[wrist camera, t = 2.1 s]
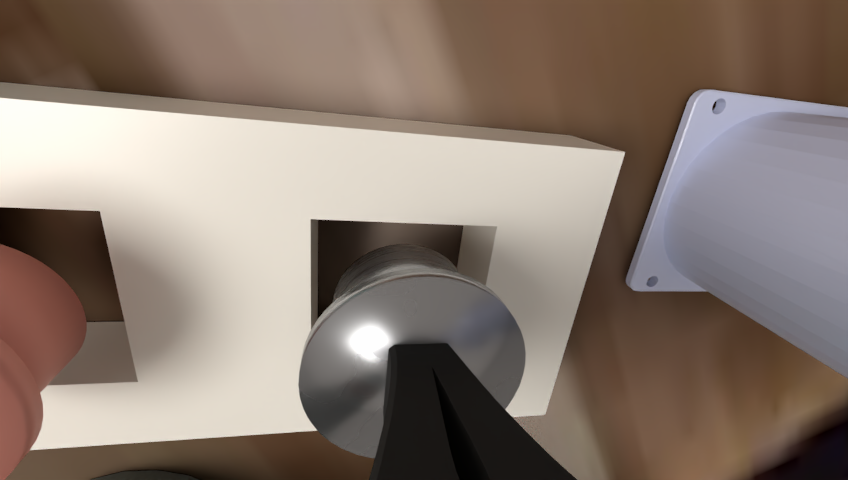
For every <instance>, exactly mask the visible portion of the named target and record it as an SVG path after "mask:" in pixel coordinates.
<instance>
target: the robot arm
mask: <svg viewBox="0 0 848 480" xmlns="http://www.w3.org/2000/svg"><path fill="white" fill-rule="evenodd" d="M715 101H716V107H715V108H714V110H713V111H712V107H713V104H714V103H715ZM650 277H651V278H650ZM649 278H650V280H649V281H648V279H649ZM626 284H627V285H628V286H629V287H630V288H631V289H633V290H634V291H708V292H709V293H711V294H713V295H714V296H716V297H717V298H719V299H721V300H722V301H724V302H725V303H727V304H729V305H730V306H732V307H733V308H735V309H737V310H738V311H740V312H741V313H743V314H745V315H746V316H748V317H749V318H751V319H753V320H754V321H756V322H758V323H759V324H761V325H762V326H764V327H766V328H767V329H769V330H770V331H772V332H774V333H775V334H777V335H778V336H780V337H782V338H783V339H785V340H786V341H788V342H790V343H791V344H793V345H795V346H796V347H798V348H799V349H801V350H803V351H804V352H806V353H807V354H809V355H811V356H812V357H814V358H815V359H817V360H819V361H820V362H822V363H823V364H825V365H827V366H828V367H830V368H831V369H833V370H835V371H836V372H838V373H840V374H841V375H843V376H844V377H846V378H848V107H840V106H833V105H825V104H817V103H810V102H802V101H795V100H787V99H779V98H772V97H764V96H756V95H749V94H741V93H734V92H726V91H718V90H710V89H702V90H698V91H696V92H695V93H694V94H693V95H692V96H691V97H690V98H689V100H688V102H687V105H686V108H685V111H684V113H683V116H682V119H681V122H680V125H679V128H678V131H677V133H676V136H675V139H674V142H673V145H672V148H671V151H670V154H669V156H668V159H667V162H666V165H665V168H664V171H663V174H662V176H661V179H660V182H659V185H658V188H657V191H656V194H655V196H654V199H653V202H652V205H651V208H650V211H649V214H648V217H647V219H646V222H645V225H644V228H643V231H642V234H641V237H640V239H639V242H638V245H637V248H636V251H635V254H634V257H633V259H632V262H631V265H630V268H629V271H628V274H627V277H626ZM369 480H577V479H576V478H575V477H573V476H572V475H571V474H570V473H569V472H568V471H567V470H565V469H564V468H563V467H562V466H561V465H560V464H559V463H558V462H557V461H556V460H554V459H553V458H552V457H551V456H550V455H549V454H548V453H547V452H546V451H545V450H544V449H543V448H542V447H541V446H540V445H539V444H538V443H537V442H536V441H535V440H534V439H533V438H532V437H531V436H530V435H529V434H528V433H527V432H526V431H525V430H524V429H523V428H522V427H521V426H520V425H519V424H518V423H517V422H516V421H515V420H514V419H513V418H512V416H511V415H510V414H509V413H508V412H507V411H506V410H505V409H504V408H503V407H502V406H501V404H500V403H499V402H498V401H497V400H496V399H495V398H494V397H493V396H492V395H491V393H490V392H489V391H488V390H487V389H486V388H485V387H484V386H483V384H482V383H481V382H480V381H479V380H478V379H477V377H476V376H475V375H474V374H473V373H472V372H471V370H470V369H469V368H468V367H467V366H466V364H465V363H464V362H463V361H462V360H461V358H460V357H459V356H458V355H457V354H456V352H455V351H454V350H453V349H452V348H451V347H450V345H449V344H448V343H435V344H397V345H393V346H392V347H390V348H389V350H388V361H387V372H386V383H385V394H384V405H383V428H382V432H381V436H380V440H379V444H378V448H377V452H376V456H375V460H374V464H373V468H372V471H371V475H370V478H369Z"/></svg>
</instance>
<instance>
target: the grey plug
mask: <svg viewBox="0 0 848 480" xmlns="http://www.w3.org/2000/svg"><path fill="white" fill-rule="evenodd" d="M435 343H448V344H449V345H450V347H451V348H452V349H453V350H454V351H455V352H456V354H457V355H458V356H459V357H460V358H461V360H462V361H463V362H464V363H465V364H466V366H467V367H468V368H469V369H470V370H471V372H472V373H473V374H474V375H475V376H476V377H477V379H478V380H479V381H480V382H481V383H482V384H483V386H484V387H485V388H486V389H487V390H488V391H489V392H490V393H491V395H492V396H493V397H494V398H495V399H496V400H497V401H498V402H499V403H500V404H501V406H502V407H503V408H504V409H506V408H507V407H508V405H509V404H510V402H511V400H512V399H513V397H514V396H515V394H516V392H517V390H518V388H519V386H520V383H521V380H522V377H523V373H524V368H525V357H526V351H525V344H524V339H523V336H522V333H521V330H520V328H519V326H518V324H517V322H516V320H515V319H514V317H513V316H512V314H511V313H510V311H509V310H508V308H507V307H506V305H505V304H504V303H503V301H502V300H501V299H500V298H499V297H498V296H497V295H496V294H495V293H494V292H493V291H492V290H491V289H490V288H488V287H487V286H485V285H484V284H482V283H481V282H479V281H477V280H475V279H473V278H471V277H469V276H466V275H463V274H460V273H459V271H458V270H457V268H456V267H455V266H454V265H453V263H452V262H451V261H450V260H448V259H447V258H446V257H445V256H443V255H442V254H440V253H439V252H437V251H435V250H433V249H430V248H427V247H424V246H419V245H413V244H396V245H389V246H385V247H382V248H378V249H376V250H374V251H371V252H369V253H367V254H365V255H364V256H362V257H361V258H359V259H358V260H356V261H355V262H354V263H353V264H352V265H351V266H350V267H349V268H348V269H347V270H346V271H345V273H344V274H343V275H342V277H341V278H340V280H339V282H338V284H337V286H336V288H335V292H334V295H333V302H332V304H331V305H330V306H329V307H328V308H327V309H326V310H325V311H324V312H323V313H322V315H321V316H320V317H319V318H318V320H317V321H316V323H315V324H314V326H313V328H312V329H311V331H310V333H309V335H308V338H307V340H306V342H305V345H304V349H303V353H302V358H301V364H300V371H299V383H298V386H299V395H300V400H301V403H302V406H303V409H304V411H305V413H306V415H307V417H308V419H309V420H310V422H311V423H312V424H313V426H314V427H315V428H316V429H317V430H318V431H319V432H320V433H321V434H322V435H323V436H324V437H325V438H326V439H328V440H329V441H330V442H332V443H333V444H335V445H337V446H339V447H340V448H342V449H344V450H347V451H349V452H352V453H354V454H358V455H361V456H365V457H369V458H375V456H376V452H377V448H378V444H379V440H380V436H381V432H382V428H383V405H384V394H385V383H386V372H387V361H388V350H389V348H390V347H392V346H393V345H397V344H435Z"/></svg>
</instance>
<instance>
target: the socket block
mask: <svg viewBox="0 0 848 480" xmlns="http://www.w3.org/2000/svg"><path fill="white" fill-rule="evenodd" d="M624 155H625V152H624V151H620V150H617V149H614V148H610V147H607V146H604V145H601V144H597V143H594V142H591V141H587V140H584V139H581V138H578V137H574V136H571V135H561V134H550V133H540V132H529V131H518V130H508V129H497V128H486V127H476V126H465V125H454V124H443V123H433V122H422V121H411V120H401V119H390V118H379V117H369V116H358V115H347V114H337V113H326V112H315V111H305V110H294V109H283V108H273V107H262V106H251V105H240V104H230V103H219V102H208V101H198V100H187V99H176V98H166V97H155V96H144V95H134V94H123V93H112V92H102V91H91V90H80V89H70V88H59V87H48V86H37V85H27V84H16V83H5V82H0V207H9V208H34V209H60V210H86V211H100V214H101V219H102V223H103V228H104V232H105V237H106V241H107V245H108V250H109V254H110V259H111V263H112V268H113V272H114V277H115V281H116V286H117V290H118V295H119V299H120V304H121V308H122V313H123V317H124V322H87V331H86V336H85V340H84V342H83V345H82V347H81V348H80V350H79V352H78V353H77V354H76V355H75V356H74V357H73V358H72V360H71V361H70V362H69V363H68V364H67V365H66V366H65V367H64V368H63V369H62V370H61V371H60V372H59V373H58V374H57V375H56V376H55V378H54V379H53V380H52V381H51V382H50V383H49V384H48V385H47V386H46V387H45V388H44V389H43V390H42V391H41V392H40V394H41V398H42V402H43V421H42V427H41V430H40V433H39V435H38V438H37V440H36V441H35V443H34V444H33V446H32V447H31V449H30V450H39V449H54V448H68V447H83V446H98V445H112V444H127V443H141V442H156V441H171V440H185V439H200V438H214V437H229V436H244V435H258V434H273V433H287V432H302V431H317V429H316V428H315V427H314V426H313V424H312V423H311V422H310V420H309V419H308V417H307V415H306V413H305V411H304V409H303V406H302V403H301V400H300V395H299V386H298V383H299V371H300V364H301V358H302V353H303V349H304V345H305V342H306V340H307V338H308V335H309V333H310V331H311V329H312V328H313V326H314V324H315V323H316V321H317V320H318V220H344V221H369V222H395V223H421V224H447V225H464V226H463V232H462V239H461V245H460V251H459V258H458V264H457V270H458V271H459V273H460V274H463V275H466V276H469V277H471V278H473V279H475V280H477V281H479V282H481V283H482V284H484V285H485V286H487V287H488V288H490V289H491V290H492V291H493V292H494V293H495V294H496V295H497V296H498V297H499V298H500V299H501V300H502V301H503V303H504V304H505V305H506V307H507V308H508V310H509V311H510V313H511V314H512V316H513V317H514V319H515V320H516V322H517V324H518V326H519V328H520V330H521V333H522V336H523V339H524V344H525V351H526V357H525V368H524V373H523V377H522V380H521V383H520V386H519V388H518V390H517V392H516V394H515V396H514V397H513V399H512V400H511V402H510V404H509V405H508V407H507V408H506V409H505V410H506V411H507V412H508V413H509V414H510V415H511V416H512V417H521V416H536V415H545V413H546V410H547V407H548V404H549V400H550V397H551V394H552V390H553V387H554V384H555V381H556V377H557V374H558V371H559V368H560V364H561V361H562V358H563V354H564V351H565V348H566V345H567V341H568V338H569V335H570V332H571V328H572V325H573V322H574V318H575V315H576V312H577V309H578V305H579V302H580V299H581V295H582V292H583V289H584V286H585V282H586V279H587V276H588V273H589V269H590V266H591V263H592V259H593V256H594V253H595V250H596V246H597V243H598V240H599V237H600V233H601V230H602V227H603V223H604V220H605V217H606V214H607V210H608V207H609V204H610V201H611V197H612V194H613V191H614V187H615V184H616V181H617V178H618V174H619V171H620V168H621V165H622V161H623V158H624Z"/></svg>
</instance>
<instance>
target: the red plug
mask: <svg viewBox="0 0 848 480" xmlns="http://www.w3.org/2000/svg"><path fill="white" fill-rule="evenodd" d="M86 331H87V322H86V316H85V312H84V309H83V307H82V304H81V302H80V300H79V299H78V297H77V295H76V294H75V292H74V291H73V290H72V288H71V287H70V286H69V285H68V284H67V283H66V282H65V280H64V279H63V278H62V277H60V276H59V275H58V274H57V273H56V272H55V271H53V270H52V269H51V268H49V267H48V266H46V265H45V264H43V263H42V262H40V261H38V260H37V259H35V258H33V257H31V256H29V255H27V254H25V253H23V252H21V251H18V250H16V249H13V248H10V247H8V246H5V245H1V244H0V480H5V478H6V477H7V476H8V475H9V474H10V473H11V472H12V471H13V470H14V469H15V467H16V466H17V465H18V464H19V463H20V461H21V460H22V459H23V458H24V456H25V455H26V454H27V453H28V452H29V450H30V449H31V447H32V446H33V444H34V443H35V441H36V440H37V438H38V435H39V433H40V430H41V427H42V421H43V402H42V398H41V394H40V392H41V391H42V390H43V389H44V388H45V387H46V386H47V385H48V384H49V383H50V382H51V381H52V380H53V379H54V378H55V376H56V375H57V374H58V373H59V372H60V371H61V370H62V369H63V368H64V367H65V366H66V365H67V364H68V363H69V362H70V361H71V360H72V358H73V357H74V356H75V355H76V354H77V353H78V352H79V350H80V348H81V347H82V345H83V342H84V340H85V336H86Z"/></svg>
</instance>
